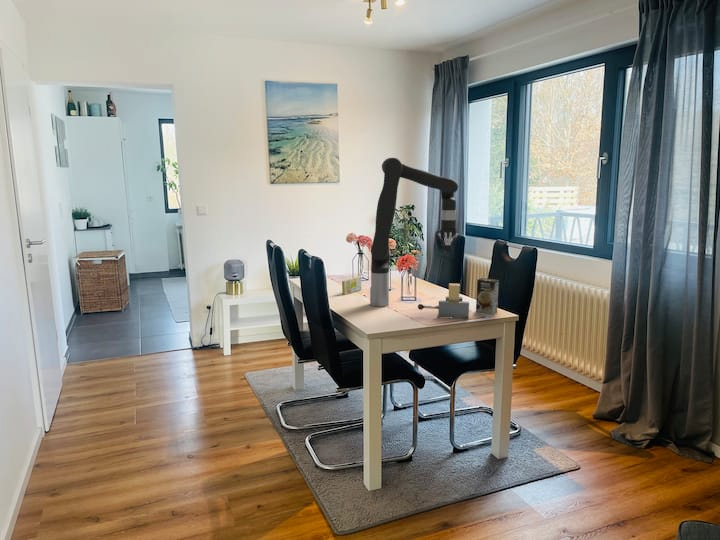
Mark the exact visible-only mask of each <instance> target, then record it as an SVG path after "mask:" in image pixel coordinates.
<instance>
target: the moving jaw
mask: <svg viewBox="0 0 720 540" xmlns="http://www.w3.org/2000/svg"><path fill="white" fill-rule="evenodd" d="M445 301H449V296H445ZM459 301H461V302H463V296H459Z"/></svg>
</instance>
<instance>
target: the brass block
mask: <svg viewBox="0 0 720 540" xmlns="http://www.w3.org/2000/svg"><path fill="white" fill-rule="evenodd" d="M460 286H461V285H460V283H448V297H449V301H459V297H460V290H461V289H460Z"/></svg>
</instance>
